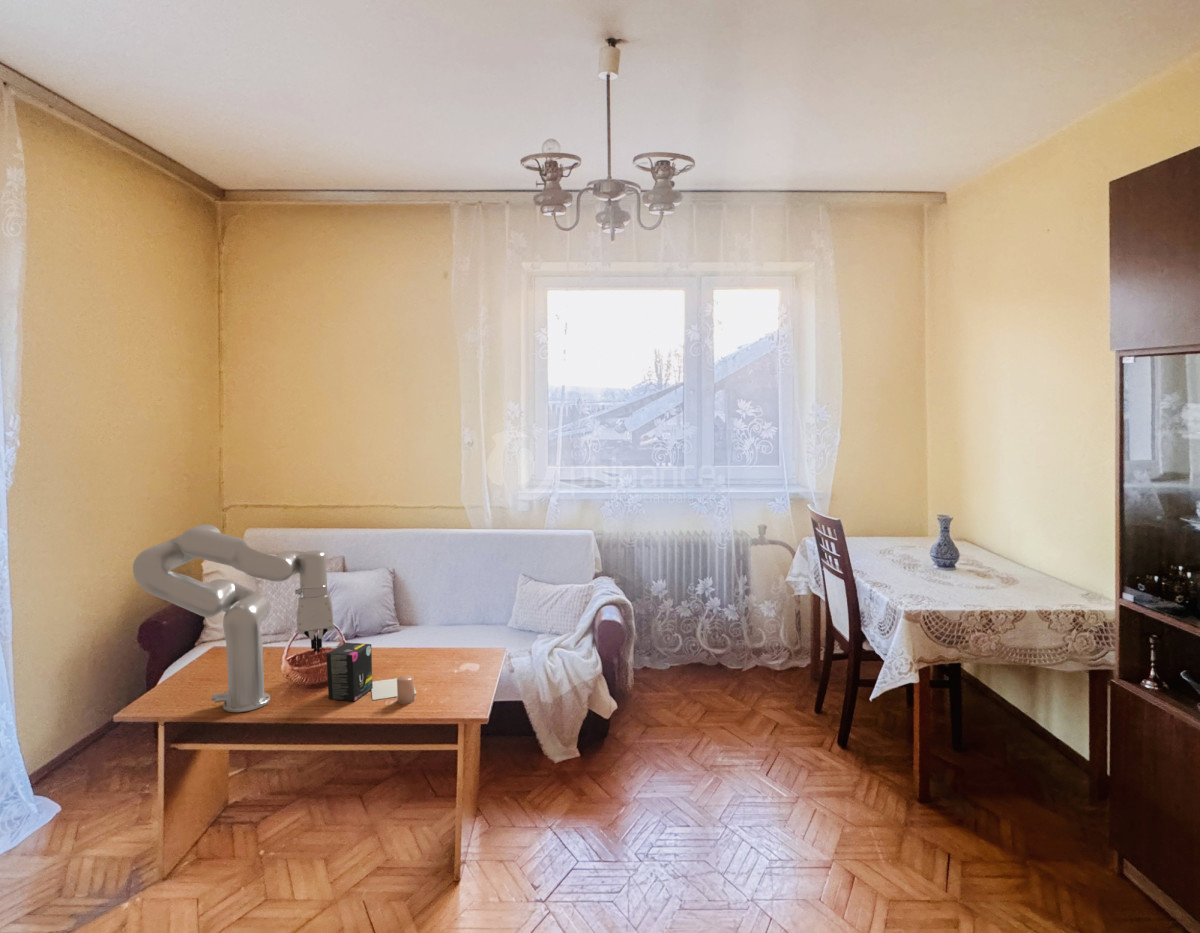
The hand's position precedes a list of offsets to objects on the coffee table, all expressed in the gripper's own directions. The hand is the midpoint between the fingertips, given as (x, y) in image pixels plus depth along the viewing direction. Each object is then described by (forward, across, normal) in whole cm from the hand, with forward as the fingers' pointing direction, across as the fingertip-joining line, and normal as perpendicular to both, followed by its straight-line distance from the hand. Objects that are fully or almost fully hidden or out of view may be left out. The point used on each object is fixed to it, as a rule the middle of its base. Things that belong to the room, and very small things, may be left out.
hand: (316, 650), depth 201 cm
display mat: (+16, +22, 0) cm, 27 cm away
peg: (+16, +25, -11) cm, 32 cm away
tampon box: (+15, +9, 0) cm, 18 cm away
